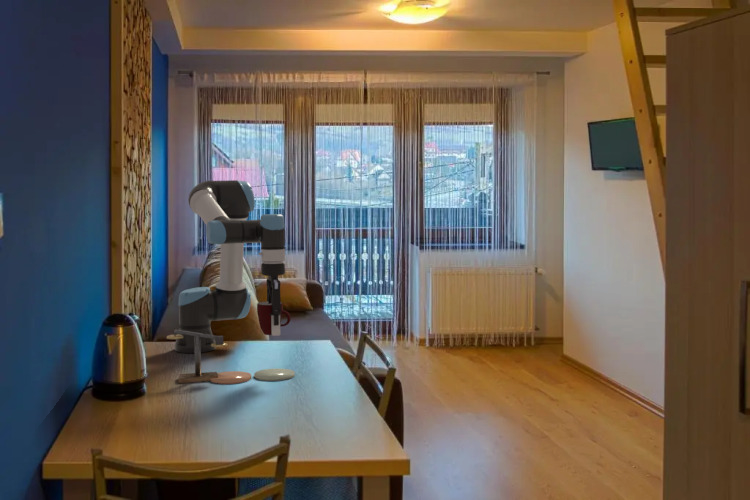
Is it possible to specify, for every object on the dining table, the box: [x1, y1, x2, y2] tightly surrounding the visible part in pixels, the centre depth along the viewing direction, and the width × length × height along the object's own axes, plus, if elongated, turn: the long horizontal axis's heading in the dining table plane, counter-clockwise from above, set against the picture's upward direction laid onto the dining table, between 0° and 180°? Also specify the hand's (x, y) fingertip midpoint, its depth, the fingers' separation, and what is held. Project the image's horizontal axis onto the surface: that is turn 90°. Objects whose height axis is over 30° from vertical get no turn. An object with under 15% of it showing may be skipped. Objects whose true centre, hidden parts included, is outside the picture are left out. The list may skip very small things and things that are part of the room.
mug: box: [256, 300, 291, 336], centre depth 242 cm, size 10×8×10 cm
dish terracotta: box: [209, 370, 252, 385], centre depth 240 cm, size 13×13×1 cm
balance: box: [166, 329, 228, 384], centre depth 239 cm, size 6×19×16 cm, turn 105°
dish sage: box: [253, 368, 296, 382], centre depth 244 cm, size 13×13×1 cm
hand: (274, 333), depth 243 cm, fingers closed on mug, 8 cm apart
